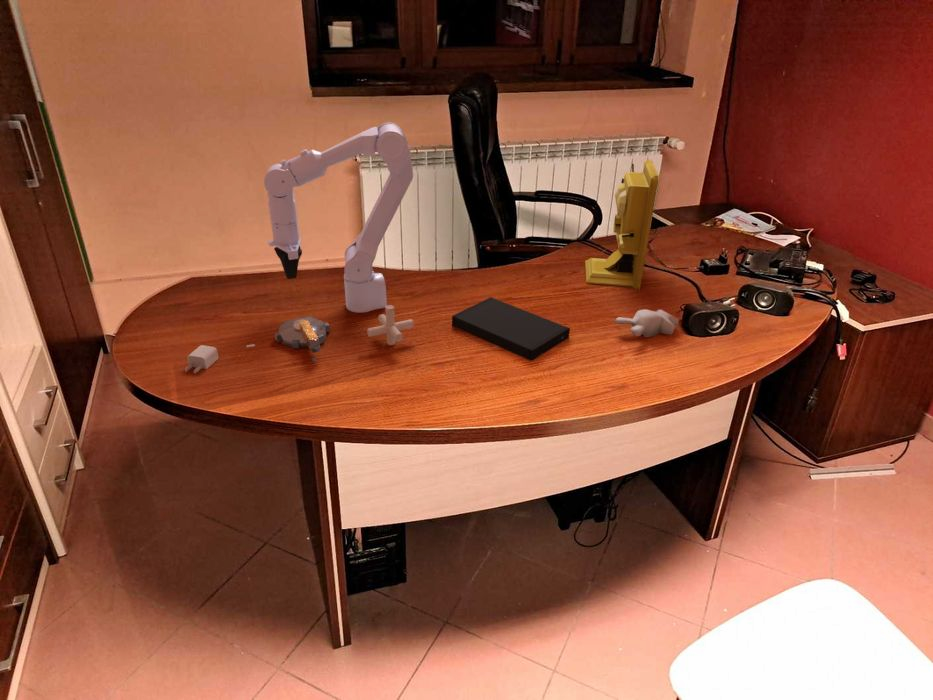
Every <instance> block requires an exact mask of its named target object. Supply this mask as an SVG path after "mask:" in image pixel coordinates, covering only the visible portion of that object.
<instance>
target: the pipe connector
mask: <svg viewBox="0 0 933 700" xmlns="http://www.w3.org/2000/svg"><path fill="white" fill-rule="evenodd" d="M384 309H385V310H384V311H385V314H384V313H383V314H379V315H378V318H377V320H378V321H379V322H380V324H381V325H378V326H374V327H368V328H367V329H366V334H367V336H368V337H369V338H371V337H376V336H380V335H385V334H386V344H387V346H388V345H389V346H393V345H395V344H396V342H398V343H399V342H402V340H403V339H404V335H403V333H401V331H402V330H403V331H404V330H408V329H411V328H415V327H414V326H415V325H414V324H415V323H414V321H413V319H412V318H409V319H406V320H401V321H397V322H395V320H396V319H395V306H394V305H391V304H389V305H388V304H387V306H386V307H385V308H384Z"/></svg>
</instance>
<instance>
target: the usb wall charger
mask: <svg viewBox="0 0 933 700" xmlns="http://www.w3.org/2000/svg"><path fill="white" fill-rule="evenodd" d="M186 358H187V359H186V360H187V364H188V365H187V366H186V367H185V368H184V372H185V373H186V372H188V371H189V370H190V369H191V368H195V369H194V370H193V373H194V374H197V373H198V372H199V371H200V370H202V369H204V370H208V368H210V367H211V366H212V365H213V364H214V363H215V362H217V361H218V360H219V359H220V358H219V353H218V349H217V348H216V347H214V346H209V345H204V344H203V345H199V346H198V347H197V348H195V349H194V350H193V351H192V352H191V353H189V354H188V356H187V357H186Z"/></svg>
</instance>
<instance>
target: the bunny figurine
mask: <svg viewBox="0 0 933 700" xmlns="http://www.w3.org/2000/svg"><path fill="white" fill-rule="evenodd" d="M679 320H680V319H678V318H677V317H675V316H673V315H671V314H670V313H668V312H666V311H664V310H662V309H657V310H656V311H653V310H650V309H647V308H646V309H639V310H637V311H636V313H635V314H634V316H633V318H630V317H621V316H619V317H617V318H615V320H614V323H615V324H617V325H631V328H630V330H631V334H632V335H633V336H638V337H640V336H642V335H643V337H645V338H650V337H651V338H652V337H655V336H657V334H665V335H673V334H674V330H675V328H676V327H678V324H679Z"/></svg>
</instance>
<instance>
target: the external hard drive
mask: <svg viewBox="0 0 933 700" xmlns="http://www.w3.org/2000/svg"><path fill="white" fill-rule="evenodd" d="M451 326H452V327H453V328H456V329H458V330H461V331H463V332H464V333H467V334H469V335H472V336H474V337H476V338H478V339H481V340H483V341H485V342H488V343H490V344H492V345H494V346H496V347H498V348H501V349H502V350H505V351H507V352H510V353H511V354H514V355H516V356H519V357H521V358H523V359H525V360H528V361H530V362H532V361H534V360H536V359H537V358H540V357H541V356H542V355H544V354H546V353H547V352H548V351H551V350H552V349H553V348H555V347H556V346H558V345H560V344H561V343H563V342H565V341H566V340H568V339H570V332H571V331H570V330H571V328H570V327H568V326H565V325H563V324H561V323H558V322H555V321H552V320H549V319H548V318H545V317H543V316H539V315H537V314H534V313H532V312H529V311H527V310H524V309H523V308H519V307H517V306H515V305H511V304H509V303H507V302H504V301H502V300H499V299H497V298H494V297H491V296H490V297H488V298H486V299H484V300H482V301H480V302H479V303H476V304H473V305H471V306H469V307H467V308H466V309H464V310H461V311H459V312H457V313H454V314H453V315H452V316H451Z"/></svg>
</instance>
